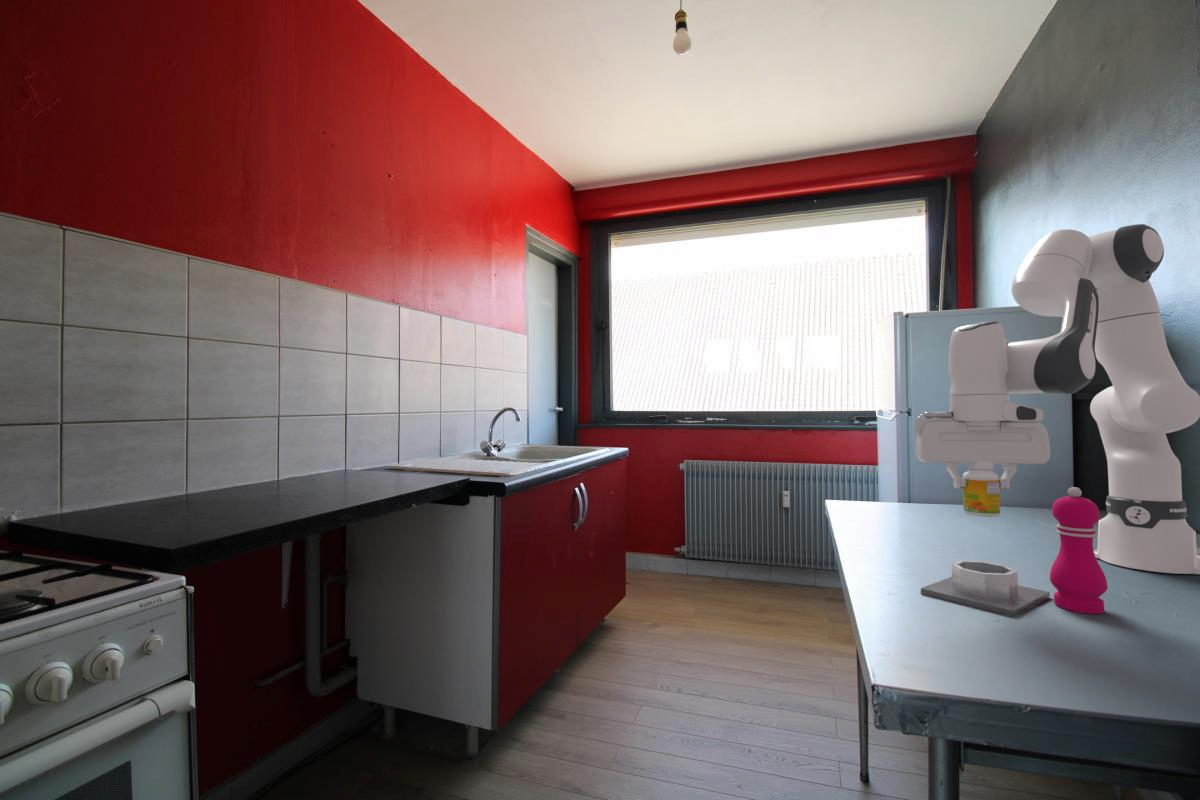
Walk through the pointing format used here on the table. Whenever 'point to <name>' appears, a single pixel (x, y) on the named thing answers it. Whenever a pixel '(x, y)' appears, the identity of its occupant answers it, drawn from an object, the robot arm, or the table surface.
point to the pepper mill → (1077, 556)
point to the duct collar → (986, 588)
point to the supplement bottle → (981, 490)
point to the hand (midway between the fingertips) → (981, 488)
